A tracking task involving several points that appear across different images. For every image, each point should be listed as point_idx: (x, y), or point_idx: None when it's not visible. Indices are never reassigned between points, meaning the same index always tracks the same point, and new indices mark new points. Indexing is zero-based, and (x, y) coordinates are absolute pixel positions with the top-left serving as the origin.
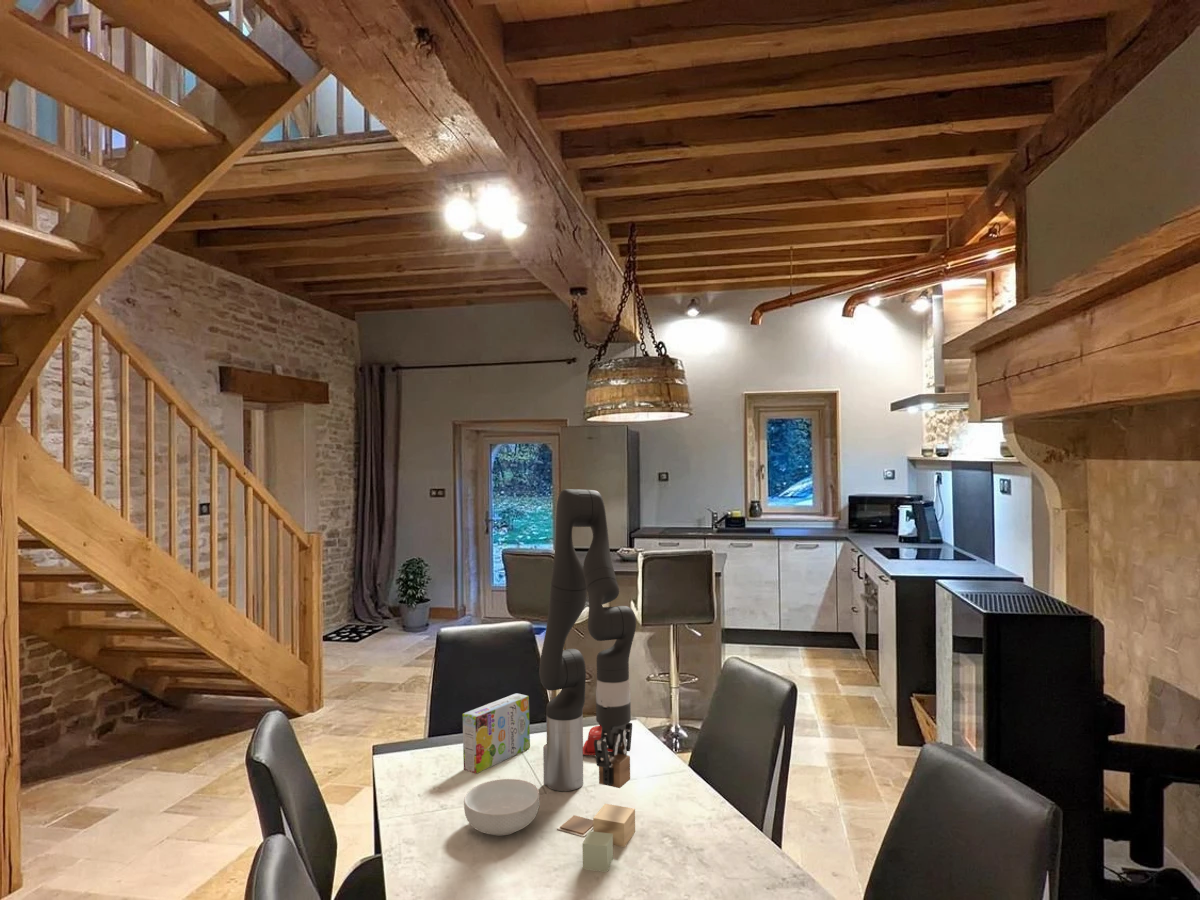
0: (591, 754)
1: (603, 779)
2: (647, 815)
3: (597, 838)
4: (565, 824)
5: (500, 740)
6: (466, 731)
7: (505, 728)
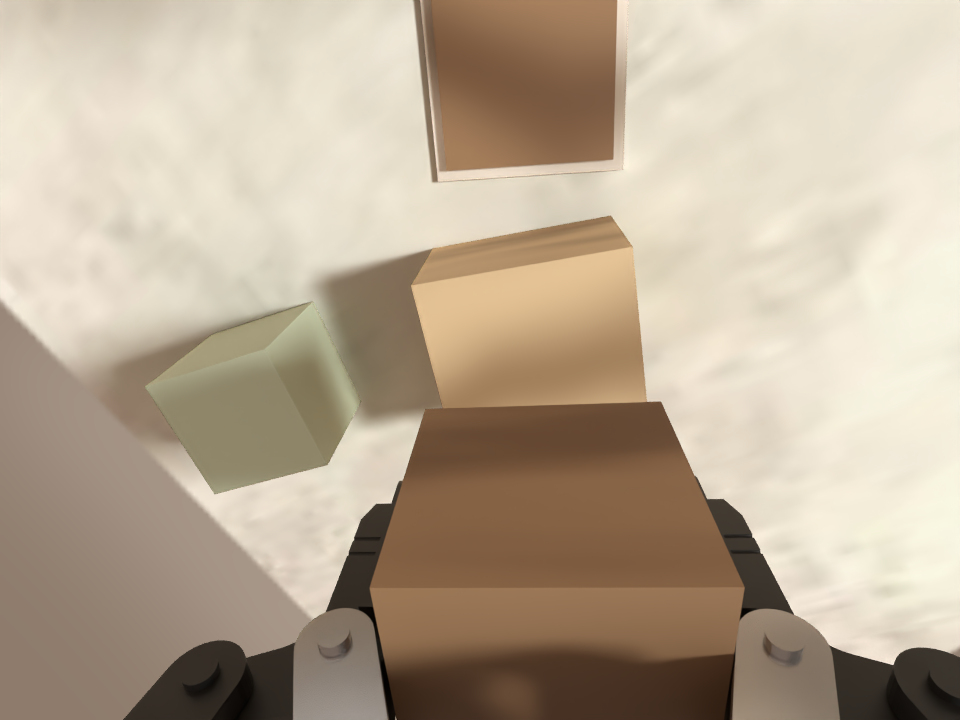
0: None
1: (361, 527)
2: (819, 358)
3: (235, 426)
4: None
5: None
6: None
7: None
